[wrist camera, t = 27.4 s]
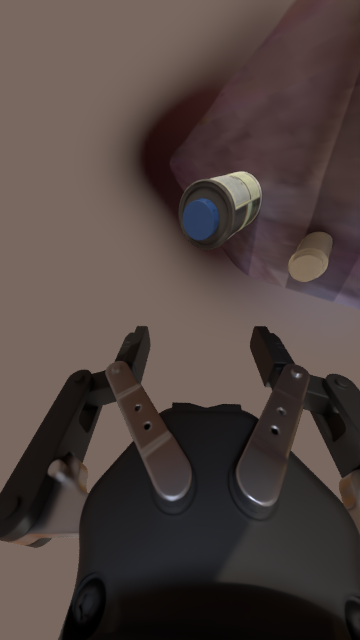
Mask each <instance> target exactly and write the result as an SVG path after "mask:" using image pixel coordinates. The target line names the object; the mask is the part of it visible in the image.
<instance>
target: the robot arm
mask: <svg viewBox="0 0 360 640" xmlns="http://www.w3.org/2000/svg"><path fill="white" fill-rule="evenodd" d="M250 349H251V352H252V355H253V357H254V360H255V362H256V365H257V368H258V370H259V373H260V376H261V378H262V380H263V383H264V386H265V387H271V388H272V393H271V395H270V398H269V400H268V402H267V404H266V406H265V408H264V410H263V412H262V415H261V416H260V419H258V418H257V417H255V416H254V415H252V414H250V413H248V412H246V411H243V410H242V409H241V405H238V404H221V405H217V406H213V407H209V408H205V407H201V406H198V405H194V404H191V403H173V404H172V408H169V409H166V410H164V411H162V412H161V413H158V412H157V410H156V409H155V407H154V405H153V403H152V402H151V400H150V398H149V397H148V395H147V393H146V392H145V390H144V388H143V387H142V385H141V381H142V376H143V373H144V369H145V366H146V362H147V358H148V354H149V350H150V337H149V331H148V327H147V326H137V328H136V330H135V333H130V334H128V335H127V337H126V338H125V340H124V342H123V344H122V347H121V349H120V351H119V353H118V355H117V358H116V360H115V362H114V363H112V364H110V365H109V366H108V367H107V369H106V370H105V371H102V372H98V373H94V374H91V372H90V371H89V370H79V371H77V372H75V373H73V374H72V375H71V376H70V377H69V378H68V379H67V381H66V383H65V385H64V386H63V388H62V390H61V391H60V393H59V395H58V396H57V398H56V400H55V401H54V403H53V405H52V407H51V408H50V410H49V412H48V413H47V415H46V417H45V418H44V420H43V422H42V423H41V425H40V427H39V429H38V430H37V432H36V434H35V435H34V437H33V439H32V441H31V442H30V444H29V445H28V447H27V449H26V451H25V452H24V454H23V456H22V457H21V459H20V461H19V462H18V464H17V466H16V468H15V469H14V471H13V473H12V474H11V476H10V478H9V480H8V481H7V483H6V484H5V486H4V488H3V490H2V492H1V493H0V540H1V541H6V542H11V543H16V544H20V545H25V546H30V547H34V548H37V547H41V546H43V545H45V544H46V543H47V542H49V541H50V540H51V538H56V537H57V538H60V537H79V546H80V549H79V565H78V573H77V579H76V584H75V589H74V593H73V597H72V600H71V603H70V606H69V609H68V612H67V615H66V618H65V621H64V624H63V627H62V630H61V633H60V636H59V639H58V640H360V391H359V389H358V388H357V387H356V386H355V384H354V383H353V382H352V381H350V380H349V379H348V378H346V377H344V376H341V375H338V374H329V375H328V376H327V377H326V379H324V378H320V377H317V376H313V375H310V374H309V373H308V371H307V370H306V369H304V368H303V367H301V366H299V365H296V364H295V363H294V361H293V360H292V358H291V356H290V355H289V353H288V352H287V350H286V349H285V347H284V345H283V344H282V342H281V340H280V339H279V337H277V336H276V335H275V334H274V333H270V332H269V330H268V329H267V327H265V326H255V327H254V330H253V333H252V338H251V341H250ZM116 401H117V403H118V406H119V408H120V410H121V413H122V415H123V417H124V420H125V422H126V424H127V427H128V429H129V431H130V434H131V436H132V439H133V442H132V443H131V444H130V445H129V446H128V447H127V449H126V450H125V451H124V452H123V453H122V454H121V455H120V456H119V458H118V459H117V460H116V461H115V462H114V463H113V464H112V465H111V466H110V468H109V469H108V470H107V471H106V472H105V473H104V475H102V477H101V478H100V479H99V480H98V481H97V482H96V484H95V485H94V486H93V488H92V489H91V491H90V493H87V490H86V483H87V478H88V471H87V468H86V467H85V466H84V465H83V464H82V462H83V460H84V457H85V454H86V451H87V448H88V445H89V443H90V440H91V437H92V434H93V431H94V429H95V426H96V423H97V420H98V417H99V414H100V412H101V409H102V406H103V405H106V404H109V403H112V402H116ZM303 409H305V410H309V411H310V412H311V414H312V416H313V418H314V420H315V422H316V425H317V427H318V429H319V431H320V433H321V435H322V437H323V439H324V441H325V443H326V445H327V448H328V449H329V452H330V454H331V456H332V458H333V460H334V462H335V464H336V466H337V468H338V470H339V472H340V474H341V477H342V479H341V481H340V483H339V490H340V493H341V496H342V501H343V503H342V502H341V501H340V500H339V499H338V497H337V496H336V495H335V494H334V493H333V492H332V491H331V490H330V489H329V488H328V487H327V486H326V485H325V484H324V483H323V482H322V481H321V480H320V479H319V478H318V477H317V476H316V475H315V474H314V473H313V472H312V471H311V470H309V468H307V466H306V465H305V464H304V463H303V462H302V461H301V460H300V459H299V458H298V457H297V456H295V454H294V453H293V452H292V451H291V447H292V444H293V441H294V437H295V434H296V431H297V427H298V424H299V421H300V417H301V414H302V411H303Z"/></svg>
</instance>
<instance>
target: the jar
mask: <svg viewBox="0 0 360 640" xmlns="http://www.w3.org/2000/svg"><path fill="white" fill-rule="evenodd" d="M332 247H333V240H332V238H331V236H330V235H329V234H327V233H325V232H313V233H310V234H308V235H307V236H305V237H304V238H303V239H302V240H301V242H300V243H299V245H298V247H297V248H296V250H295V252H294V253H293V255H292V257H291V258H290V260H289V263H288V269H289V272H290V275H291V276H292V277H293V278H294V279H295V280H297V281H300V282H308V281H311V280H313V279H315V278H317V277H319V276H320V275H322V274H323V273H324V271H325V270H326V268H327V266H328V262H329V258H330V255H331V251H332Z"/></svg>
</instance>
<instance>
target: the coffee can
mask: <svg viewBox="0 0 360 640" xmlns="http://www.w3.org/2000/svg"><path fill="white" fill-rule="evenodd" d="M200 198H205V199H208V200H211V202H213V204H214V205H215V206H216V208H217V210H218V214H219V223H218V227H217V230H216V231H215V232H214V233H213V234H212V235H211V236H210V237H209V238H206V239H204V240H195V239H193V238H191V237H190V236H189V235H188V234H187V232H186V231H185V228H184V225H183V213H184V210H185V208H186V206H187V205H188V204H189V203H190V202H192V201H195V200H198V199H200ZM261 202H262V191H261V187H260V185H259V183H258V181H257V180H256V178H255V177H254V176H253V175H251V174H249V173H247V172H235V173H232V174H229V175H224V176H220V177H215V178H211V179H202V180H198V181H196V182H194V183H192V184H191V185H190V186H189V187H188V188H187V189H186V190H185V192H184V194H183V196H182V198H181V201H180V206H179V222H180V226H181V229H182V231H183V233H184V235H185V236H186V238H187V239H188V241H190V243H192V244H193V245H194V246H196V247H198V248H200V249H204V250H208V249H209V250H210V249H215V248H217V247H219V246H220V245H222V244H223V243H224V242H225V241H226V240H227V239H229V238H230V237H231V236H233V235H234V234H235V233H237V232H238V231H239V230H241V229H242V228H243V227H245V226H247V225H248V224H250V223H251V222H252V221H253V220H254V219H255V217H256V216H257V214H258V212H259V210H260V207H261Z"/></svg>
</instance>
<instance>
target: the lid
mask: <svg viewBox="0 0 360 640" xmlns="http://www.w3.org/2000/svg"><path fill="white" fill-rule="evenodd" d="M218 223H219V214H218V210H217V208H216V206H215V205H214V204H213V202H211V200H208V199H205V198H200V199H198V200H195V201H192V202H190V203H189V204H188V205H187V206H186V208H185V210H184V213H183V225H184V228H185V231H186V232H187V234H188V235H189V236H190V237H191V238H193V239H195V240H204V239H206V238H209V237H210V236H211V235H212V234H213V233H214V232H215V231H216V230H217V227H218Z"/></svg>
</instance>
